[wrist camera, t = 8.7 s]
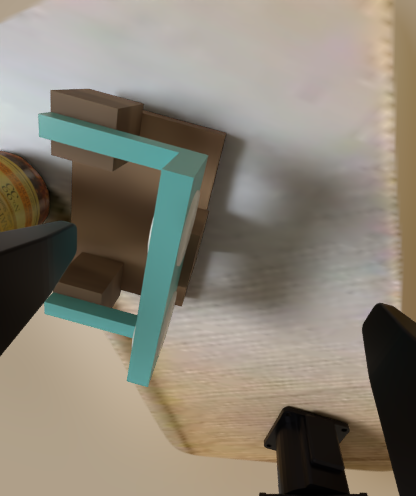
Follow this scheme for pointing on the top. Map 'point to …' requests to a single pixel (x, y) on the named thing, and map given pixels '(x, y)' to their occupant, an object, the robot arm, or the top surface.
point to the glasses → (160, 239)
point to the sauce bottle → (21, 194)
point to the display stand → (123, 196)
